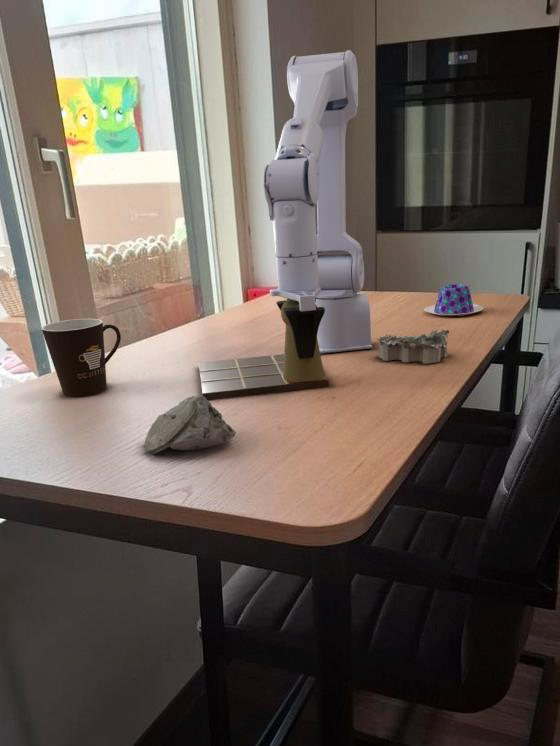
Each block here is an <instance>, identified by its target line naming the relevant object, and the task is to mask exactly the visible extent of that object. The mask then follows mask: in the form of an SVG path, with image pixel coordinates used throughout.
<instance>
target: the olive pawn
mask: <svg viewBox="0 0 560 746" xmlns="http://www.w3.org/2000/svg"><path fill="white" fill-rule="evenodd" d="M297 303H299V302H298V301H294V300H289V301H286V302H285V303H284V304H283V306H282V308H281V311H280V317H281V320H282V322H283V323H284V324H285V330H284V331H285V332H284V333H285V334H284V351H283V354H284V370H283V378H284V379H285V380H287V381H292V382H306V381H313V380H317V379H320V378H322V377H323V376H324V375H325V372H324V366H323V362H322V356H321V353H320V350H319V345H318V339H316V346H315V353H314V357H313V358H304V359H299V357H298V355H297V352H296V348H295V343H294V338H293V334H292V330H291V327H290V324H289V322H288V320H287V318H286V316H285V314H284V312H283V308H291V307H297ZM315 307H317V305H316V304H315Z"/></svg>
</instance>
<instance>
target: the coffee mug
mask: <svg viewBox="0 0 560 746" xmlns="http://www.w3.org/2000/svg"><path fill="white" fill-rule="evenodd" d="M40 328H41V329H40V330H41V332H42V335H43V338H44V341H45V344H46V347H47V350H48V353H49V356H50V359H51V361H52V364H53V367H54V370H55V373H56V377H57V379H58V382H59V385H60V387H61V388H60V389H61V391H62V394H63V396H64V397H68V398H83V397H90V396H94V395H99V394H102V393H103V392H105V391H106V390H107V389H108V383H107V368H106V364H107V363H109V361H110V360H111V358H112V357H113V356H114V354H115V353H116V352H117V350H118V348H119V345H120V344H121V340H122V334H121V332H120V329H119V328H118V327H117V326H116V325H114V324H105V325H104V323H103V320H102V319H100V318H99V319H98V318H76V319H75V318H74V319H65V320H60V321H56V322H51V323H47V324H45V325H43V326H41V327H40ZM108 329H112V330H113V331H114V332H115V335H116V340H115V343H114V345H113V348H112V349H111V350H110V352H109V353H108V354H107V355H106V353H105V352H106V351H105V337H104V332H105V331H106V330H108Z"/></svg>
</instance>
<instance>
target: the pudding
mask: <svg viewBox="0 0 560 746" xmlns="http://www.w3.org/2000/svg"><path fill="white" fill-rule="evenodd" d="M484 309H485V308H484V306H482V305H480V304H476V303H473V298H472V294H471V289H470V287H469V286H468V285H466V284H460V283H455V284H446V285H445V284H444V285H441V287H440V288H439V290H438V294H437V297H436V302H435V304H432V305H429V306H427V307H425V308H424V311H425V312H427V313H430V314H434V315H437V316H441V317H461V316H468V315H471V314H475V313H478V312H481V311H483V310H484Z"/></svg>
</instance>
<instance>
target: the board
mask: <svg viewBox="0 0 560 746" xmlns="http://www.w3.org/2000/svg"><path fill="white" fill-rule="evenodd" d="M198 367H199V376H200V385H201V392H202V397H205V398H206V399H207V400H208V401H209V400H218V399H219V400H220V399H226V398H227V399H228V398H236V397H246V396H254V395H265V394H273V393H283V392H291V391H301V390H310V389H311V390H312V389H319V388H329V387H330V384H329V379H328V378H327V376H326V375H325V374H324V376H323V377H322V378H320V379H317V380H313V381H306V382H292V381H287V380H285V379H284V378H283V370H284V353H281V354H280V353H279V354H270V355H261V356H252V357H250V356H249V357H242V358H241V357H240V358H236V357H235V358H230V359H222V360H211V361H201V362H198Z"/></svg>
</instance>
